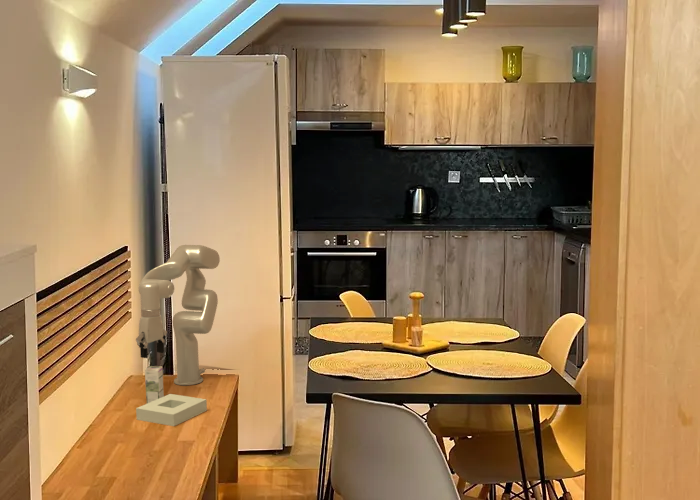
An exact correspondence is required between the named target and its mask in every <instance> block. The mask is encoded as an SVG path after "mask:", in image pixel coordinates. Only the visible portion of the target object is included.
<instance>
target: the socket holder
mask: <svg viewBox="0 0 700 500" xmlns="http://www.w3.org/2000/svg"><path fill="white" fill-rule="evenodd" d="M207 405H208V404H207V399H206V398H201V397H193V396H188V395H182V394H181V395H180V394H173V393H169V394H167V395H164V397H161V398H159V399H157V400H154V401H152V402H150V403H145V404H143V405H140V406H139V407H135V412H136V420H137V421H143V422H148V423H154V424H157V425H158V424H160V425H165V426H171V427H176V426H178V425H179V424H182V423H184V422H186V421H188V420H190V419H192V418H194V417H196V416H198V415H201V414H202V413H204V412H206V411H208V407H207Z"/></svg>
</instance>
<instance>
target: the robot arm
mask: <svg viewBox="0 0 700 500" xmlns="http://www.w3.org/2000/svg"><path fill="white" fill-rule="evenodd" d="M220 259H221V258H220V255H219V253H218V252H217V250H215V249H213V248H210V247H208V246H205V245H201V244H182V245H180V246H178V247H177V248H176V249H175V250H174V252H173V253H172V254H171V256H170V257H169V258H168V259H167V261H166V262H165V263H162V264H161V265H160V264H159V265H158V266H156V267H154V268H152V269H151V270H148V272H146V273H145V275H144V276H143V277H142V279H141V280H140V282H139V285H138V292H139V294H140V315H141V316H140V318H139V324H138V335H137V336H136V338H135V341H136V344H137V346H138V348H139V349H140V358H142V359H147V358H148V357H149V356H148V354H149V353H148V351H149V350H148V345H149V344H150V343H153V342H156V352H157V353H159V354H161V353H162V354H164V353H165V350H164V349H165V347H164V345H165V341H166V338H167V333H168V331H167V330H166V329H164V326H163V319H162V315H161V311H162V310H161V299H168V298H171V297H172V296H173V294H174V292H175V285H174V283H173V282H172V280H175V279H179V278H181V277H182V275H183V274H184V273H185V275H186V281H185V286H184V289H183V294H182V298H181V307H182V308H183V309H184V310H185V311H184V310H183V311H177V312H176V313H175V314H174V315H173V317H172V327H173V332H174V338H175V356H176V357H175V358H176V377H175V378H174V379H173V383H174V384H175V385H177V386H194V385H197V384H200V383H202V382H203V381H204V378H203V377H202V376H201V375H202V374H203V373H205V372H206V369H205V368H201V369H200V367H199V365H200V363H199V362H200V361H199V344H198V339H197V336H196V335H195V334H197V335H198V334H200V335H205V334H209V333H210V332H211V330H212V328H213V325H214V322H215V321H214V320H215V317H216V313H217V308H218V303H219V302H218V301H219V300H218V295H217V293H216V291H215V290H213V289H206V284H207V283H206V278H205V275H204V274H203V272H202V271H201V269H203V270H214V269H217V267H218V266H219V265H220V261H221V260H220ZM187 310H188V311H187Z"/></svg>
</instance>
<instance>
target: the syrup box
mask: <svg viewBox="0 0 700 500" xmlns="http://www.w3.org/2000/svg"><path fill="white" fill-rule="evenodd" d="M163 372H164V371H163V366H161V365H159V366H158V365H154V366H152V365H149V366H148V367H146V368H145V369H144V379H145V381H144V382H145V396H146V399H145V400H146V403H145V404H147V403H150V402H152V401H154V400H157V399H159V398H161V397H164V396H165V395H164V392H165V391H164V373H163Z"/></svg>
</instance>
